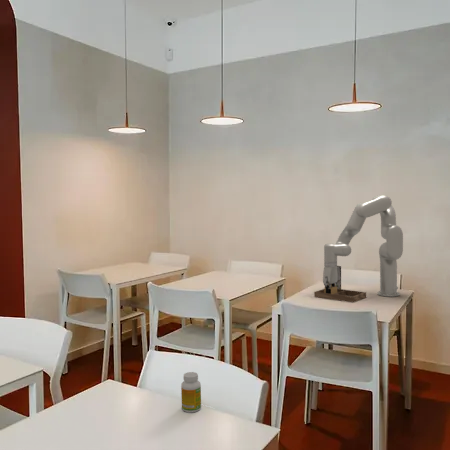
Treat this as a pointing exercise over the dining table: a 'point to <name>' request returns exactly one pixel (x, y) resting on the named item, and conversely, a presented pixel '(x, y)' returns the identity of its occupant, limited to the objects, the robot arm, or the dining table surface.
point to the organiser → (341, 295)
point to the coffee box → (338, 277)
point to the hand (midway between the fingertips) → (330, 294)
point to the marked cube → (332, 289)
